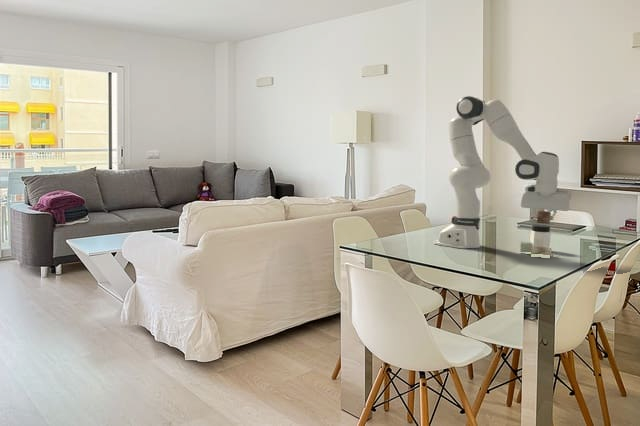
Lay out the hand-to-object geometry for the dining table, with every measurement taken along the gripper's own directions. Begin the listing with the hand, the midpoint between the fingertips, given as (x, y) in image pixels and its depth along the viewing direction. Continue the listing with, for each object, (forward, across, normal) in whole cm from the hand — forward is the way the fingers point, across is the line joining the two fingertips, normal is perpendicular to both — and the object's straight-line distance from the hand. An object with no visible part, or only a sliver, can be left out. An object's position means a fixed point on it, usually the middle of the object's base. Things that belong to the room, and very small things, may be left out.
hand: (543, 219), depth 247 cm
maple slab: (+17, 0, 0) cm, 17 cm away
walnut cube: (+2, 0, 0) cm, 2 cm away
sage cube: (+17, +7, -4) cm, 19 cm away
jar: (+17, +2, -16) cm, 24 cm away
